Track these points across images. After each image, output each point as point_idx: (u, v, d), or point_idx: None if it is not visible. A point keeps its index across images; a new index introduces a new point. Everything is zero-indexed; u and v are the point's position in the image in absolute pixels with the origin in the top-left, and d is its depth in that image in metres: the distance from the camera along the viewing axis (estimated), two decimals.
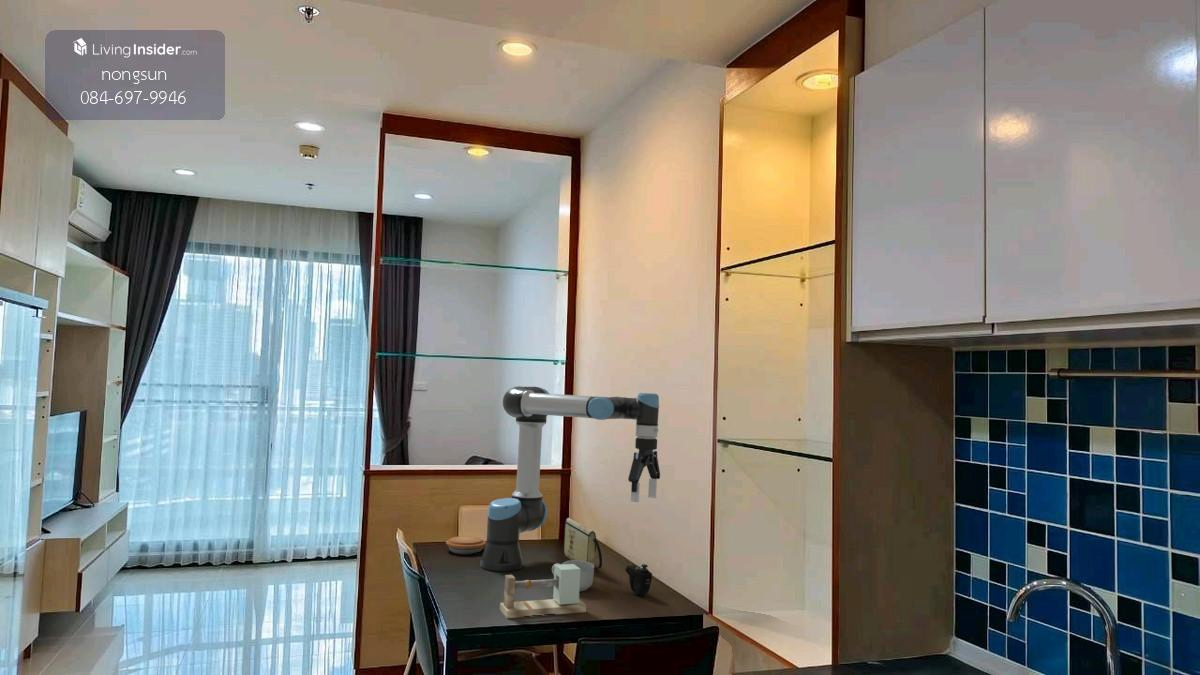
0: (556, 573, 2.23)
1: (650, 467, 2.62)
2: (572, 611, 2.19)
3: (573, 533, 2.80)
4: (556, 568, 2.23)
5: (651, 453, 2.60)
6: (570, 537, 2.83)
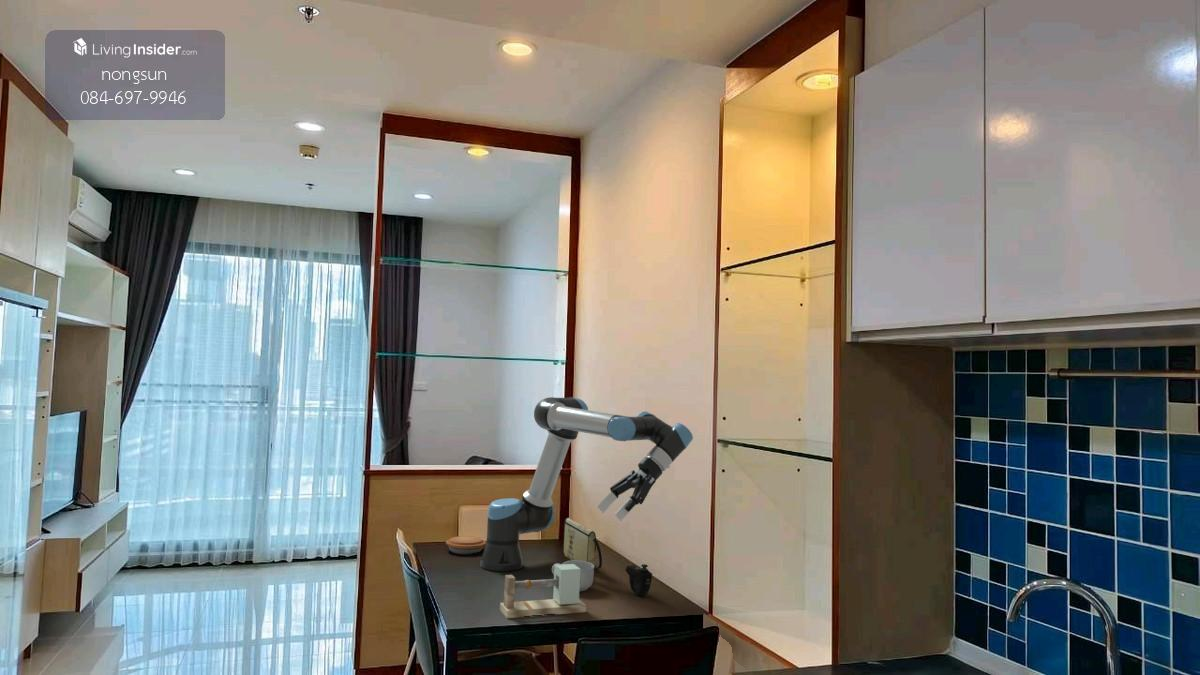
0: (556, 573, 2.23)
1: (627, 486, 2.37)
2: (572, 611, 2.19)
3: (573, 533, 2.80)
4: (556, 568, 2.23)
5: None
6: (570, 537, 2.83)
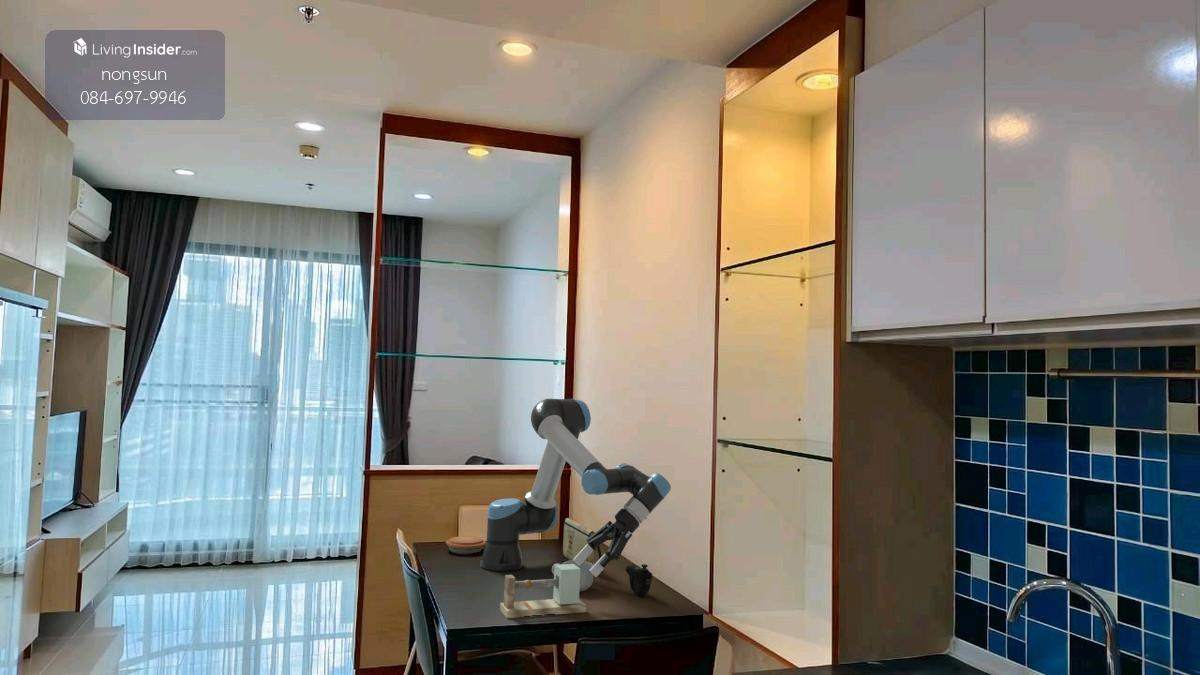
0: (556, 573, 2.23)
1: (603, 539, 2.31)
2: (572, 611, 2.19)
3: (572, 533, 2.80)
4: (556, 568, 2.23)
5: None
6: (569, 537, 2.82)
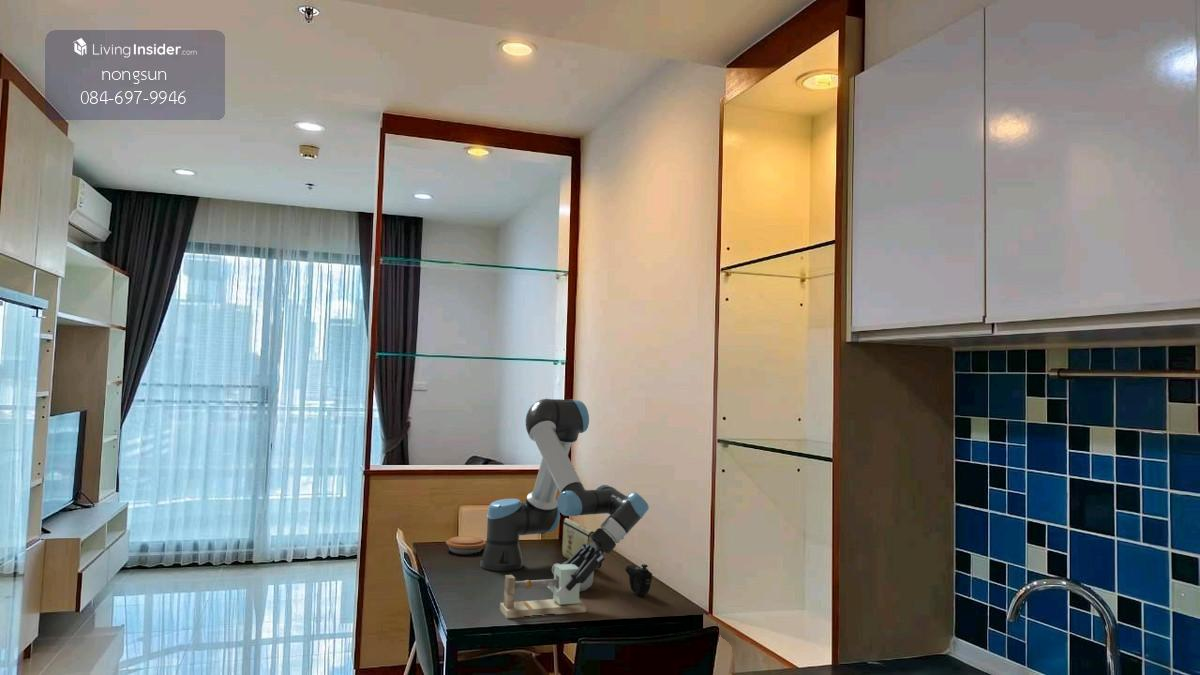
0: (556, 573, 2.23)
1: (580, 562, 2.27)
2: (572, 611, 2.19)
3: (571, 533, 2.80)
4: (556, 568, 2.23)
5: None
6: (568, 537, 2.82)
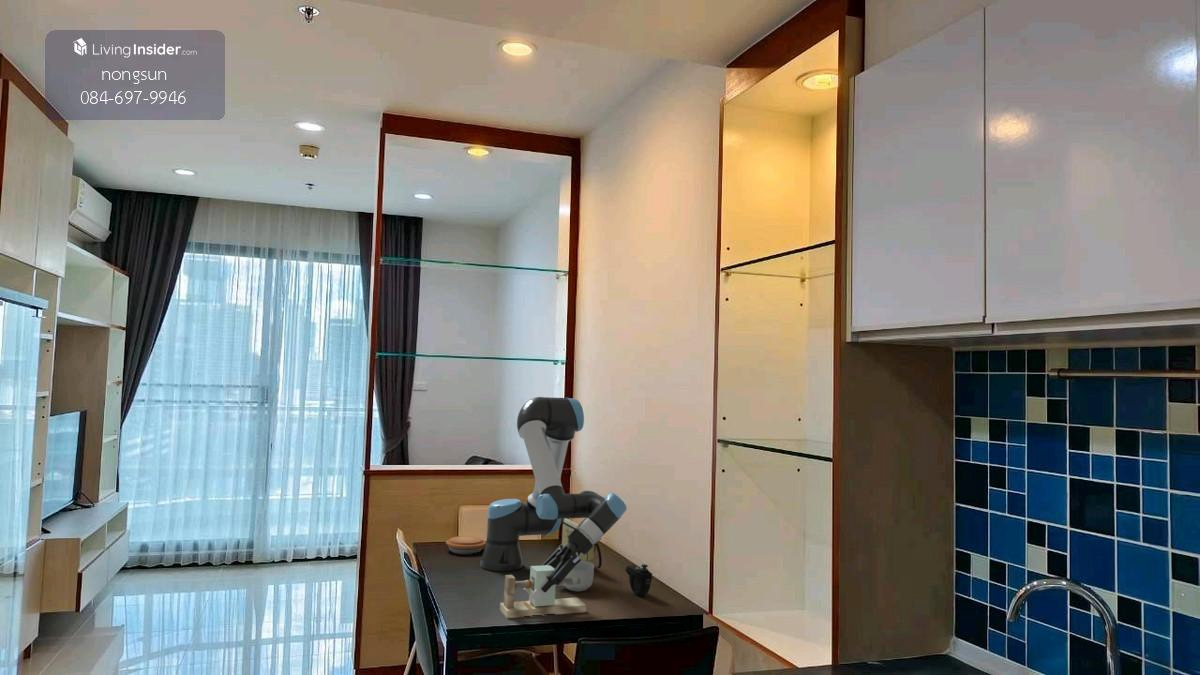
0: (532, 574, 2.20)
1: (556, 563, 2.24)
2: (572, 611, 2.19)
3: None
4: (532, 569, 2.20)
5: None
6: None
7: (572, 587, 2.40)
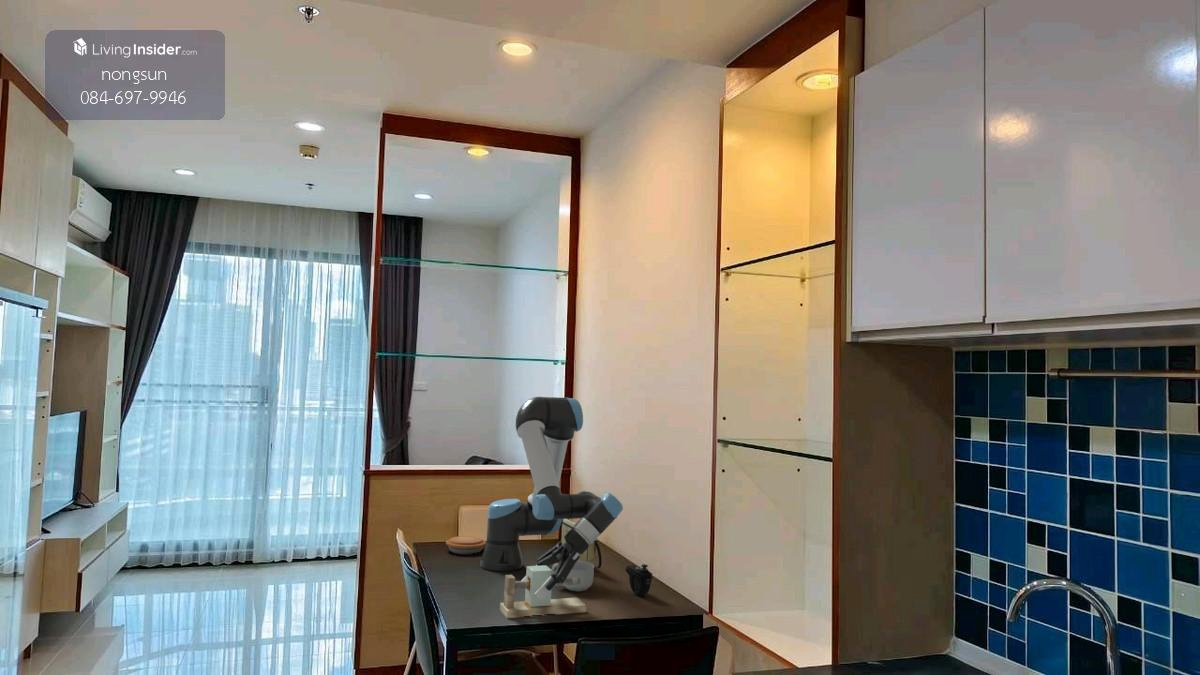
0: (528, 575, 2.19)
1: (552, 560, 2.26)
2: (572, 611, 2.19)
3: None
4: (528, 570, 2.20)
5: None
6: None
7: (572, 587, 2.40)
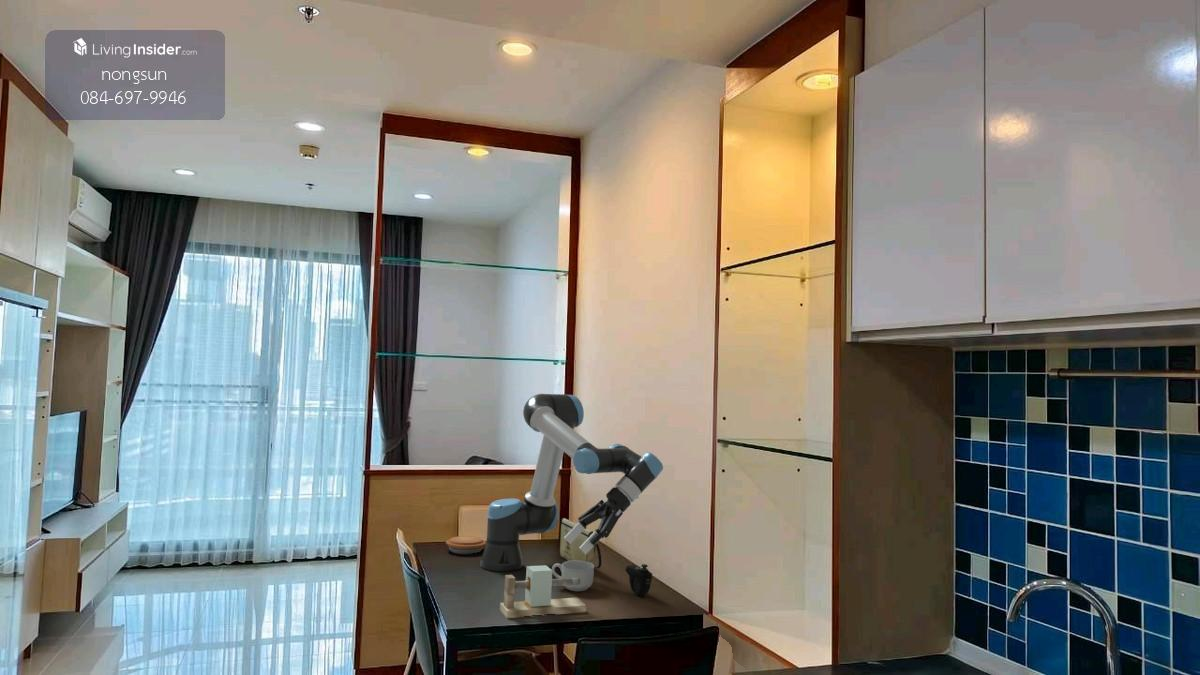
0: (528, 575, 2.19)
1: (594, 517, 2.31)
2: (572, 611, 2.19)
3: None
4: (528, 570, 2.20)
5: None
6: None
7: (572, 587, 2.40)
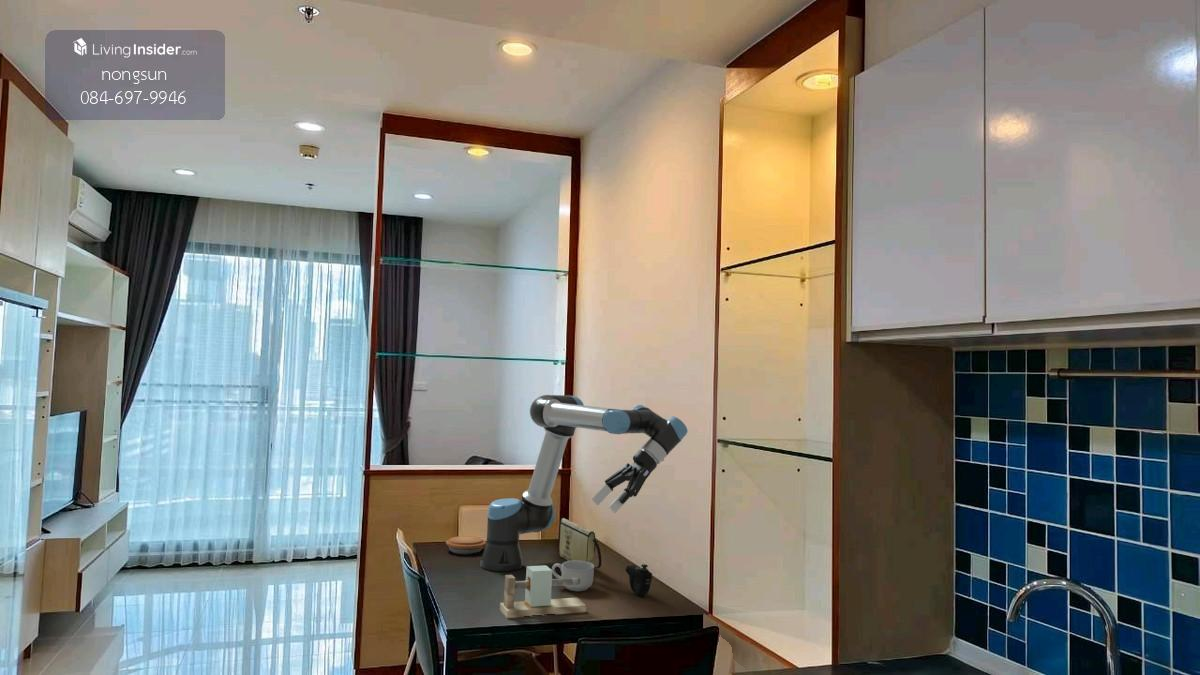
0: (528, 575, 2.19)
1: (621, 479, 2.38)
2: (572, 611, 2.19)
3: (570, 533, 2.79)
4: (528, 570, 2.20)
5: None
6: (566, 537, 2.82)
7: (572, 587, 2.40)
